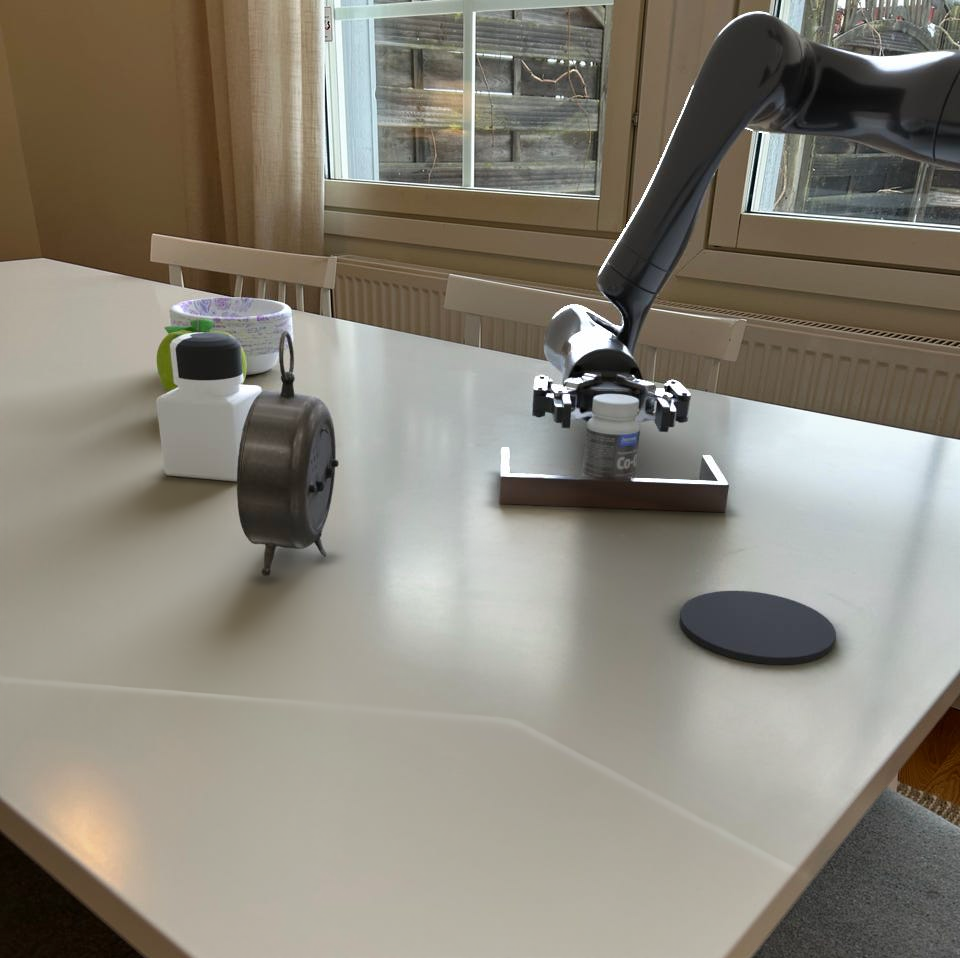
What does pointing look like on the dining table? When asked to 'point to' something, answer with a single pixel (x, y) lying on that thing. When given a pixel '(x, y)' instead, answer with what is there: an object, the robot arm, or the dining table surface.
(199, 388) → the medicine bottle
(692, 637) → the coaster
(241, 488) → the alarm clock
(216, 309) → the white round bowl
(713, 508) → the bracket
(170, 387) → the fruit
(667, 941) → the dining table surface
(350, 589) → the dining table surface
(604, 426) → the pill bottle
